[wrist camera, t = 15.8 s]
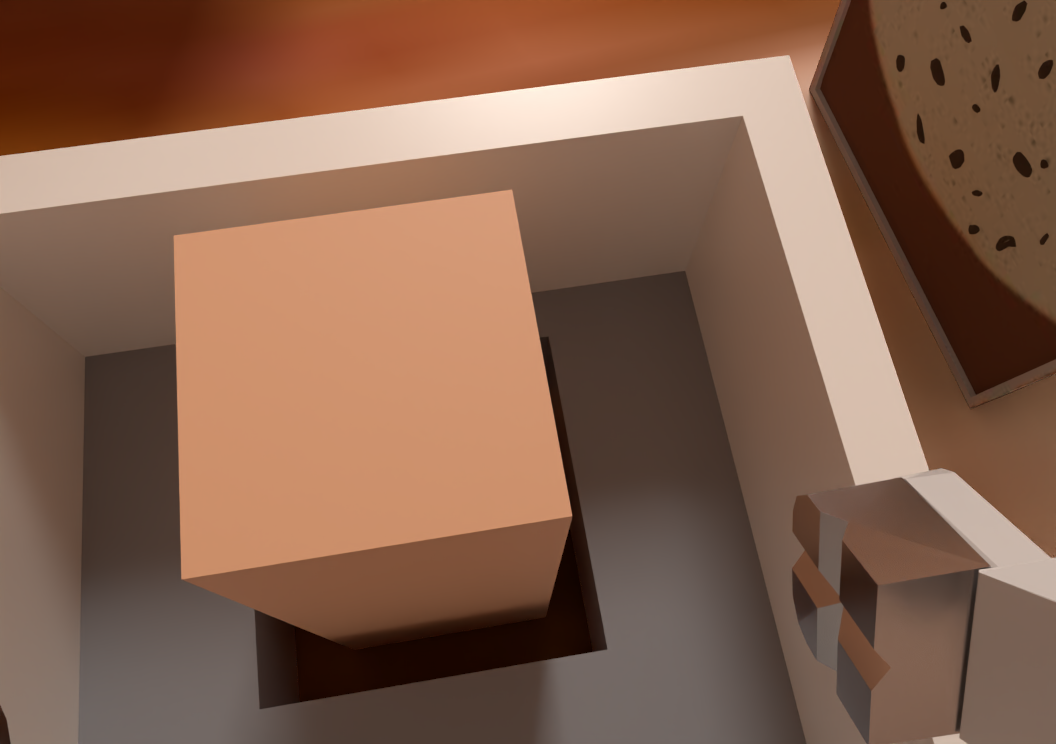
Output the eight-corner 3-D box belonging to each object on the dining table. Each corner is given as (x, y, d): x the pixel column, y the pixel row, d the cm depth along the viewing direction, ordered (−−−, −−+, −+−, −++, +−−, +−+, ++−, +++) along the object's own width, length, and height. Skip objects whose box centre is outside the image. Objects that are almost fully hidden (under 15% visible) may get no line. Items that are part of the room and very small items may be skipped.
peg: (515, 436, 20) (512, 190, 11) (545, 617, 18) (572, 516, 9) (337, 463, 20) (173, 235, 10) (353, 649, 18) (181, 578, 9)
